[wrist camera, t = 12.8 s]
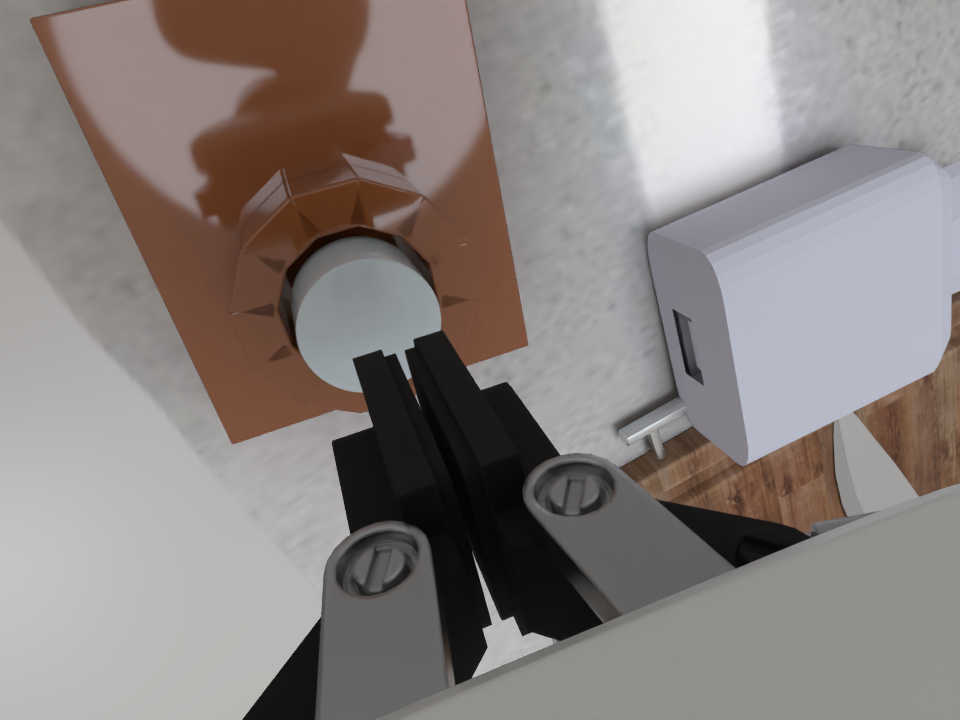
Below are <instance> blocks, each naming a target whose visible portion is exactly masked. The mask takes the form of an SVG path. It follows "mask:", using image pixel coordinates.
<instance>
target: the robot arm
mask: <svg viewBox="0 0 960 720" xmlns="http://www.w3.org/2000/svg"><path fill="white" fill-rule="evenodd" d="M413 342H414V347H413V348H410V349H407V350H405V355H406V359H407V363H408V366H409V370H410V373H411V376H412V380H413V383H414V387H415V390H416V394H417V397H418V401H419V404H420V407H419V404H418V402H417V400H416V398H415V395H414V393H413V391H412V389H411V387H410V384H409V382H408V380H407V378H406V375H405V373H404V371H403V369H402V366H401V364H400V362H399V360H398V357H397V355H396V353H394V354H391V355H388V356H384V354H383V352H382V349H381V350H378V351H375V352H371V353H368V354H365V355H362V356H359V357H356V358H353V359H352V360H353V363H354V366H355V369H356V372H357V376H358V379H359V382H360V385H361V388H362V391H363V395H364V398H365V401H366V404H367V407H368V411H369V414H370V417H371V420H372V423H373V427H372V428H369V429H366V430H363V431H360V432H357V433H354V434H351V435H348V436H345V437H342V438H339V439H336V440H333V441H332V446H333V451H334V456H335V461H336V466H337V471H338V476H339V481H340V486H341V491H342V496H343V500H344V505H345V510H346V515H347V520H348V525H349V530H350V535H349V536H348V537H346V538H345V539H344V540H343V541H342V542H341V543H340V544H339V545H338V546H337V547H336V548H335V549H334V551H333V552H332V554H331V556H330V557H329V559H328V560H327V563H326V567H325V571H324V578H323V595H322V612H321V618H320V619H319V620H318V622H317V623H316V624H315V626H314V627H313V628H312V630H311V631H310V632H309V634H308V635H307V636H306V637H305V639H304V640H303V641H302V643H301V644H300V645H299V646H298V648H297V649H296V650H295V652H294V653H293V654H292V656H291V657H290V658H289V660H288V661H287V662H286V664H285V665H284V666H283V667H282V669H281V670H280V671H279V673H278V674H277V675H276V677H275V678H274V679H273V680H272V682H271V683H270V684H269V686H268V687H267V688H266V689H265V691H264V692H263V693H262V695H261V696H260V697H259V699H258V700H257V701H256V703H255V704H254V705H253V706H252V708H251V709H250V711H249V712H248V713H247V714H246V716H245V717H244V718H243V720H960V484H957V485H953V486H949V487H946V488H943V489H940V490H937V491H934V492H932V493H929V494H926V495H923V496H920V497H918V498H915V499H912V500H909V501H906V502H903V503H900V504H897V505H894V506H891V507H889V508H886V509H884V510H881V511H876V512H870V513H865V514H860V515H854V516H849V517H843V518H838V519H833V520H827V521H822V522H816V523H811V532H809V533H803V532H801V531H799V530H798V529H796V528H793V527H790V526H786V525H783V524H780V523H776V522H771V521H766V520H760V519H755V518H750V517H745V516H740V515H734V514H729V513H724V512H719V511H714V510H708V509H703V508H698V507H693V506H688V505H683V504H677V503H672V502H667V501H662V500H657V499H654V498H653V497H652V496H651V495H650V494H649V493H648V492H646V491H645V490H644V489H643V488H642V487H641V486H639V485H638V484H637V483H636V482H635V481H634V480H632V479H631V478H630V477H629V476H628V475H627V474H625V473H624V472H623V471H622V470H621V469H620V468H618V467H617V466H616V465H615V464H613V463H611V462H610V461H608V460H607V459H605V458H602V457H599V456H595V455H592V454H580V453H574V454H566V455H560V454H559V453H558V451H557V450H556V449H555V447H554V446H553V444H552V443H551V442H550V440H549V439H548V437H547V436H546V435H545V433H544V432H543V430H542V429H541V428H540V426H539V425H538V423H537V422H536V421H535V419H534V418H533V416H532V415H531V414H530V412H529V411H528V409H527V408H526V407H525V405H524V404H523V403H522V401H521V400H520V398H519V397H518V396H517V394H516V393H515V391H514V390H513V389H512V387H511V386H510V385H509V384H508V383H507V382H504V383H501V384H498V385H495V386H492V387H489V388H486V389H484V390H480V389H479V387H478V385H477V384H476V382H475V381H474V379H473V377H472V376H471V374H470V373H469V371H468V370H467V368H466V366H465V365H464V363H463V362H462V360H461V358H460V357H459V355H458V354H457V352H456V350H455V349H454V347H453V346H452V344H451V342H450V341H449V339H448V338H447V336H446V335H445V333H444V331H443V330H440V331H437V332H434V333H431V334H428V335H425V336H422V337H418V338H415V339H413ZM420 408H421V409H420ZM472 552H473V554H474V557H475V559H476V562H477V564H478V566H479V569H480V571H481V573H482V576H483V578H484V580H485V583H486V585H487V587H488V590H489V592H490V595H491V597H492V599H493V602H494V604H495V606H496V609H497V611H498V613H499V616H500V618H501V620H505V619H507V618H510V617H512V616H514V618H515V621H516V623H517V625H518V627H519V630H520V632H521V634H522V636H524V635H526V634H529V633H531V632H533V633H537V634H540V635H543V636H546V637H549V638H552V640H553V645H551V646H548V647H546V648H543V649H541V650H539V651H536V652H534V653H532V654H529V655H527V656H524V657H522V658H520V659H517V660H515V661H512V662H510V663H508V664H505V665H503V666H501V667H498V668H496V669H493V670H491V671H489V672H486V673H484V674H481V675H479V676H477V677H474V678H472V676H473V674H474V672H475V671H476V669H477V667H478V665H479V663H480V661H481V659H482V657H483V655H484V653H485V651H486V649H487V648H488V647H487V643H486V640H485V637H484V633H483V630H482V629H483V628H485V627H488V626H490V625H492V623H491V619H490V615H489V612H488V608H487V604H486V601H485V597H484V593H483V590H482V586H481V583H480V579H479V575H478V572H477V568H476V565H475V561H474V557H473V554H472Z"/></svg>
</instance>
